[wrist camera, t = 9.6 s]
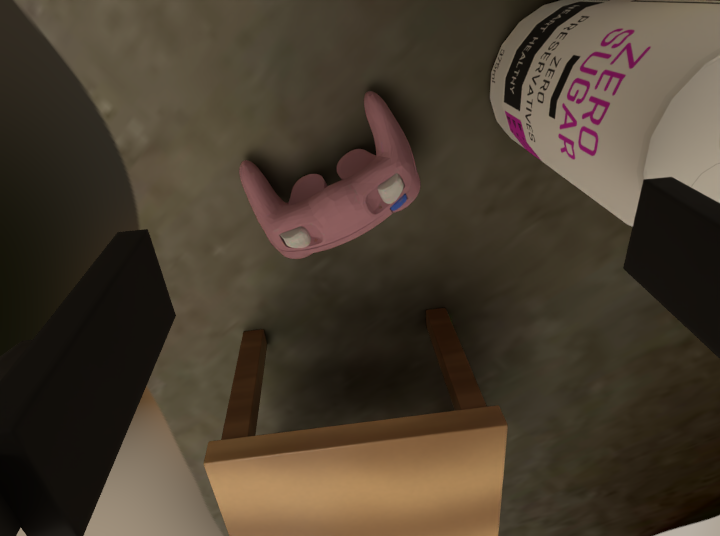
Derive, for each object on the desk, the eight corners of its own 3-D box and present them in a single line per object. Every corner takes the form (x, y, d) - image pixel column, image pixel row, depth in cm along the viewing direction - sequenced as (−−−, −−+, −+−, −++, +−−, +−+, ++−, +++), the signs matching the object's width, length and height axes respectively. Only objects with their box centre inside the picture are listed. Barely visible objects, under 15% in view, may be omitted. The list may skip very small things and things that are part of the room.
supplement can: (622, 126, 31) (848, 223, 18) (493, 160, 31) (621, 280, 18) (625, -20, 27) (918, -32, 14) (477, 21, 27) (626, 48, 14)
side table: (234, 326, 36) (202, 464, 25) (452, 300, 36) (508, 425, 26) (268, 457, 43) (254, 607, 32) (451, 433, 43) (495, 574, 33)
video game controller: (268, 203, 33) (289, 286, 29) (229, 160, 29) (246, 248, 25) (401, 132, 31) (442, 210, 28) (376, 77, 28) (420, 158, 24)
